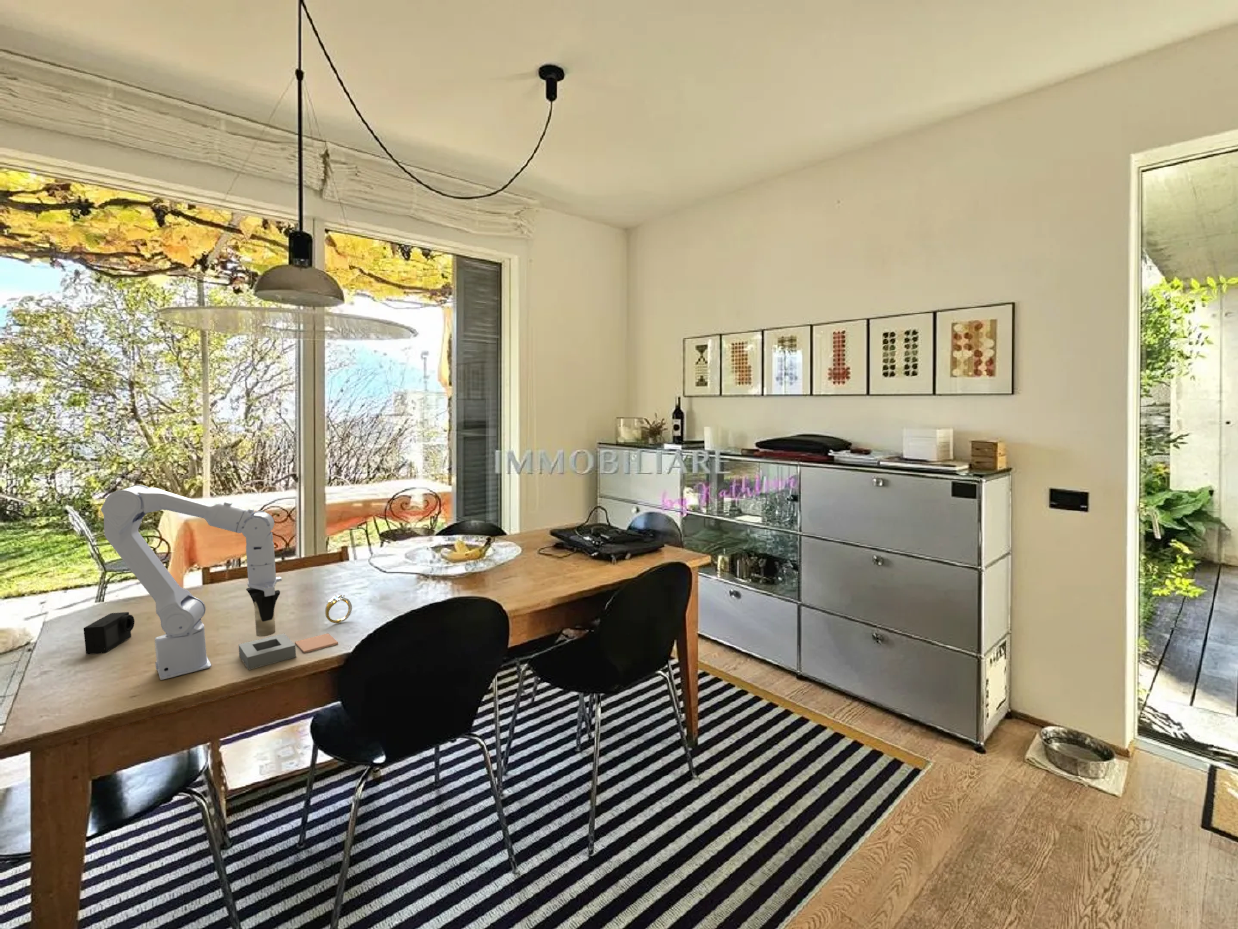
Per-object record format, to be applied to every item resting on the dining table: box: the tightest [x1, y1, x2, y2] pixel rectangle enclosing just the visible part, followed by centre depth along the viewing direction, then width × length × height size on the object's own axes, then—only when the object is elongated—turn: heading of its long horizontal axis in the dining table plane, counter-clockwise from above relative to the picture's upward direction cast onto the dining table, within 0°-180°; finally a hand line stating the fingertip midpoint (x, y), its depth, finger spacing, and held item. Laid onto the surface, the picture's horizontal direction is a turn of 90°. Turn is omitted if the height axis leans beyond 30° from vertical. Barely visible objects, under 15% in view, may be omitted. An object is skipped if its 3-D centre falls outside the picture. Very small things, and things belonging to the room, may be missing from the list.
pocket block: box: [238, 632, 297, 671], centre depth 142 cm, size 10×10×3 cm
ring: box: [324, 594, 353, 625], centre depth 163 cm, size 7×3×8 cm, turn 132°
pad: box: [294, 632, 339, 654], centre depth 150 cm, size 8×8×1 cm
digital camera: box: [83, 611, 135, 655], centre depth 149 cm, size 10×5×7 cm, turn 11°
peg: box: [253, 601, 276, 638], centre depth 141 cm, size 4×4×8 cm
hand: (264, 617), depth 141 cm, fingers closed on peg, 4 cm apart
